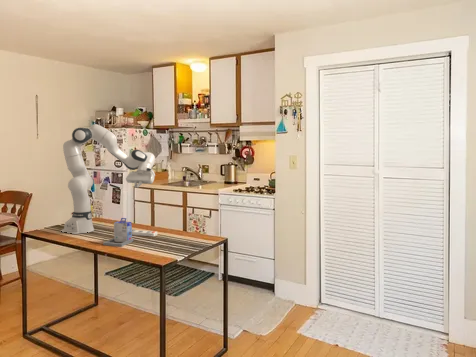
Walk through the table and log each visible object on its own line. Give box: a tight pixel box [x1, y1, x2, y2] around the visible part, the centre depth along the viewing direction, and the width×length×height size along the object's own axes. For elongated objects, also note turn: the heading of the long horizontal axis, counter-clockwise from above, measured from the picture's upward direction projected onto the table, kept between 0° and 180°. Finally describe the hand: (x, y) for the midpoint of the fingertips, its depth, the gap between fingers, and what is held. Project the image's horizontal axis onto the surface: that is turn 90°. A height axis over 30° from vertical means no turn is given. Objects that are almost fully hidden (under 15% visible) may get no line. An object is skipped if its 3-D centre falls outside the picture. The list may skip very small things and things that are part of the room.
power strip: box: [132, 229, 158, 237], centre depth 259 cm, size 22×5×2 cm, turn 73°
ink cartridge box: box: [113, 217, 133, 243], centre depth 242 cm, size 10×6×14 cm, turn 74°
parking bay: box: [102, 237, 134, 247], centre depth 238 cm, size 13×12×2 cm
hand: (136, 187), depth 267 cm, fingers closed
